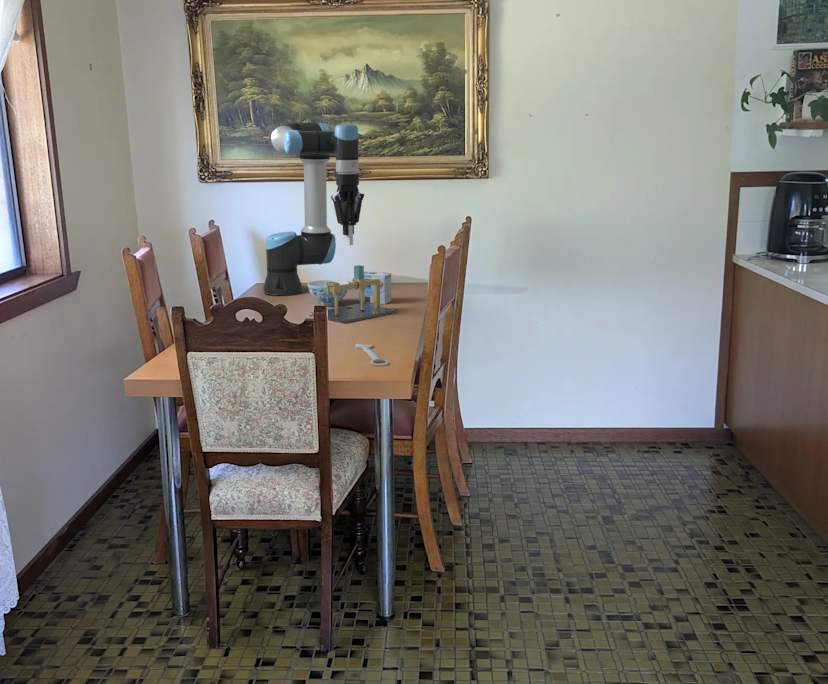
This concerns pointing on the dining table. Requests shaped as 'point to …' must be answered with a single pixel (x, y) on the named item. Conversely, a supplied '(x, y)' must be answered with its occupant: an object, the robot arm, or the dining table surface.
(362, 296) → the sliding head
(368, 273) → the light bulb box
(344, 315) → the flange plate
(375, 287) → the divider frame
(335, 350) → the dining table surface
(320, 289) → the chinaware
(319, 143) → the robot arm
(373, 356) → the wrench
